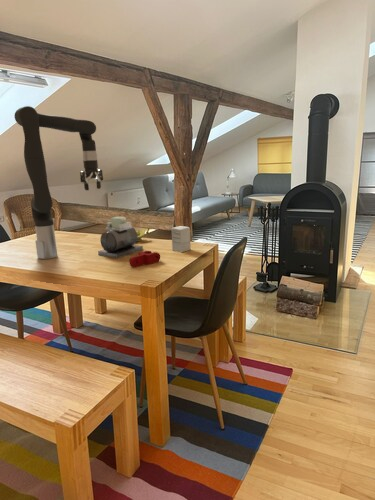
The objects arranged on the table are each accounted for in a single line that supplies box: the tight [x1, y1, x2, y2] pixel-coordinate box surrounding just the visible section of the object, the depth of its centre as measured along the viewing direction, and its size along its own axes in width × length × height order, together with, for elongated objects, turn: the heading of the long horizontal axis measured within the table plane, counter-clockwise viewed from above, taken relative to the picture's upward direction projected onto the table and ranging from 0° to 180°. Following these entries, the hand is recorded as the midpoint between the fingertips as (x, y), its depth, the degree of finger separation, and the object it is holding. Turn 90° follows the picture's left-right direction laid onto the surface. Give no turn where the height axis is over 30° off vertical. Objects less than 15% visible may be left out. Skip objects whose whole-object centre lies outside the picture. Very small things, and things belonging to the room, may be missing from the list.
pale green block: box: [110, 216, 127, 228], centre depth 207 cm, size 5×8×5 cm, turn 56°
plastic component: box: [136, 227, 146, 242], centre depth 236 cm, size 20×7×10 cm
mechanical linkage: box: [128, 250, 161, 268], centre depth 188 cm, size 16×7×5 cm, turn 140°
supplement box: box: [171, 225, 192, 253], centre depth 209 cm, size 7×7×13 cm
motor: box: [97, 221, 144, 259], centre depth 209 cm, size 20×14×16 cm
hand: (93, 189), depth 215 cm, fingers open, 8 cm apart
